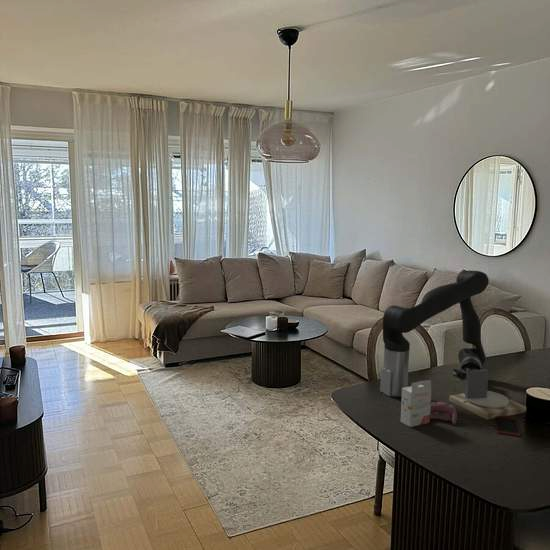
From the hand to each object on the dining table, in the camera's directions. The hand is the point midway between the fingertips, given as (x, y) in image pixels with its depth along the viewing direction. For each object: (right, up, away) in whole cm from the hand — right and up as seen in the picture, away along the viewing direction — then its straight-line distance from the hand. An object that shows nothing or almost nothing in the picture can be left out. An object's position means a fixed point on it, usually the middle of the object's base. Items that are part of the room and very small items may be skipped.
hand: (470, 381), depth 184 cm
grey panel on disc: (+6, -7, +1) cm, 9 cm away
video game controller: (-14, -11, -12) cm, 21 cm away
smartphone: (+6, -12, -15) cm, 20 cm away
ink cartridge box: (-24, -11, -14) cm, 29 cm away
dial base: (+6, -9, +1) cm, 11 cm away
